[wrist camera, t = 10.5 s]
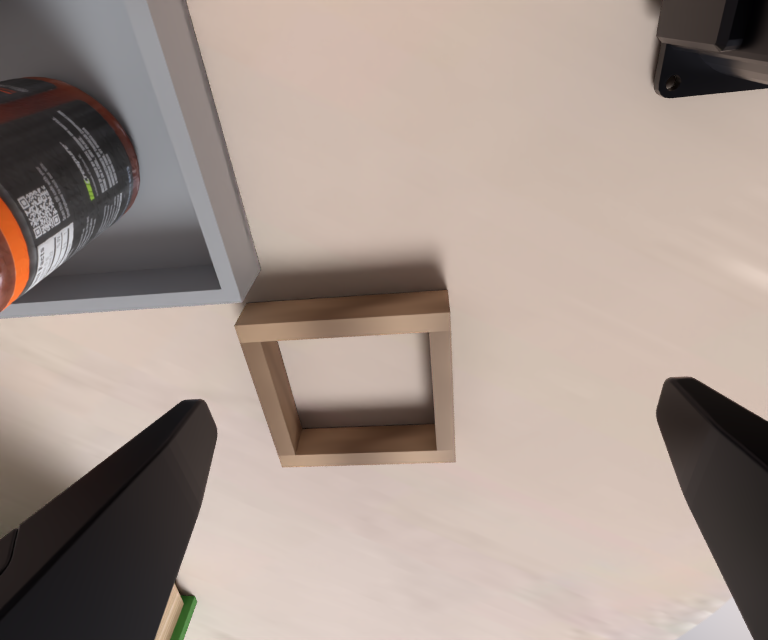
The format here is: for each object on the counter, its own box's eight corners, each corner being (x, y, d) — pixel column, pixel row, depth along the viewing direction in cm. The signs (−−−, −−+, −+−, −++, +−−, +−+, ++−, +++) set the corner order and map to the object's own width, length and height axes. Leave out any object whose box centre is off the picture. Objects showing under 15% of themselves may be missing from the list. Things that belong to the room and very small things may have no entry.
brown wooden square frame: (447, 289, 23) (450, 312, 21) (453, 435, 28) (455, 462, 27) (246, 303, 24) (234, 325, 22) (289, 441, 29) (282, 467, 28)
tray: (169, -59, 16) (123, -70, 14) (261, 269, 23) (242, 302, 20) (-155, -10, 17) (-251, -12, 15) (23, 287, 24) (-22, 320, 22)
